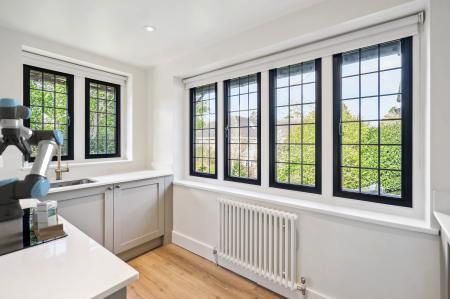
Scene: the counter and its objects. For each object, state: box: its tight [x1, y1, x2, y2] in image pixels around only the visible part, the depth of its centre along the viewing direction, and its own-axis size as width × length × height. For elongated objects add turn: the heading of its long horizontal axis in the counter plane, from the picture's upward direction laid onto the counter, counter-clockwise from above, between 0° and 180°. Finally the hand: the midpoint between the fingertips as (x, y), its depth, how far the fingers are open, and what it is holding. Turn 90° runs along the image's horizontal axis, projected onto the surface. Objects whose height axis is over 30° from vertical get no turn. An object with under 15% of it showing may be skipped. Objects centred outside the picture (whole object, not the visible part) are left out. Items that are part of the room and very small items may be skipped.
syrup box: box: [36, 199, 59, 232], centre depth 114 cm, size 6×6×14 cm
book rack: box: [31, 209, 66, 242], centre depth 117 cm, size 22×10×10 cm, turn 45°
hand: (12, 167), depth 125 cm, fingers open, 13 cm apart
